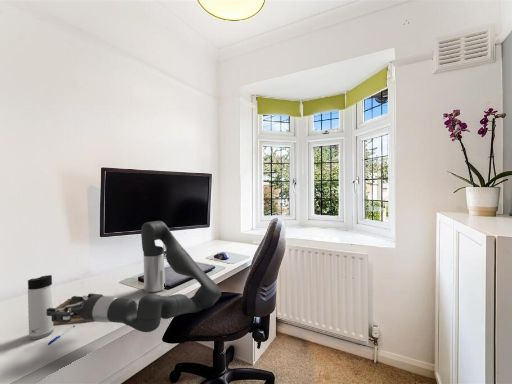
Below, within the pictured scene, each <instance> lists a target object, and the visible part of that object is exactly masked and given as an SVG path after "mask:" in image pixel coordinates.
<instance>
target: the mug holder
mask: <svg viewBox="0 0 512 384" xmlns="http://www.w3.org/2000/svg"><path fill="white" fill-rule="evenodd" d="M73 304H76V303H72V302H71V298H68V299H66V300H65V301H64V302H63V303H60V304H59V305H58V306H56V307H55V308H58V309H60V308H65V307H66V306H67V305H73ZM60 312H65V311H60ZM68 312H70V313H71V308H68ZM86 322H87V323H88V322H91V321H86V320H84V319H83V318H82V317H81V316H76V317H74V316H73V317H72V318H71V321H70V322H53V326H54V325H66V324H68V325H69V324H76V323H77V324H78V323H86Z"/></svg>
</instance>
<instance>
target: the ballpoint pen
mask: <svg viewBox="0 0 512 384" xmlns="http://www.w3.org/2000/svg"><path fill="white" fill-rule="evenodd" d="M75 327H76V325H72V326H70V328H68V329H67V330H65V331H64V332H63V333H61V334H59V335H57V336H55V337H54V338H53V339H51V340H49V342H48V343H47V344H48V345H49V346H50V345H51V344H53V343H54V342H56V341H57V340H58V339H60V338H61V337H63V336H64V335H65V334H66V333H68V332H69V331H71V330H72V329H73V328H75Z"/></svg>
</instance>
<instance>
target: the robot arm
mask: <svg viewBox="0 0 512 384" xmlns="http://www.w3.org/2000/svg"><path fill="white" fill-rule="evenodd" d="M140 231H141V232H140V235H141V247H142V248H141V249H142V251H143V287H144V288H143V291H144V292H145V293H148V294H145V295H143V296H142V297H140V299H139V300H138V304H137V301H136V300H135V299H133V298H127V297H126V298H125V297H117V296H110V295H104V294H101V293H100V294H99V293H91V292H90V293H88V294H87V295H83V296H77V295H74V296H71V298H70V299H71V302H72V303H76V304H73V305H67V306H66V307H65V308H60V309H58V308H56V307H55V308H54V307H53V308H48V309H47V310H46V314H47V316H51V319H52V322H70V321H71V318H72V317H73V316H74V317H76V316H81V317H82V318H83V319H84V320H86V321H90V322H95V323H97V322H98V323H119V324H124V325H126V326H129V327H130V328H133V329H135V330H136V331H139V332H142V333H151V332H153V331H154V332H155V331H156V330H157V329H158V328H159V327H160V324H161V319H163V320H168V319H171V318H175V317H177V316H180V315H184V314H193V313H200V312H201V311H202V310H205V309H209V308H212V307H214V305H215V304H216V303H217V301H219V299H220V297H221V296H222V291H221V289H220V287H219V286H218V284H217V283H216V282H215V281H214V280H213V279H212V278H210V277H209V276H208V275H207V273H205V271H203V269H202V268H200V266H199V265H198V264H197V262H195V260H194V259H193V257H192V256H191V255H190V254H189V253H188V252H187V251H186V249H185V248H184V247H183V246H182V245H181V243H180V242H179V241H178V240H177V239H176V237H175V236H174V234H173V233H172V231H171V230H170V229H169V227H168V226H167V224H166V223H165V222H164V221H162V220H156V221H155V220H154V221H147V222H144V223H143V224H142V225H141V230H140ZM157 240H159V241H161V242H162V244H163V245H164V247H165V248H164V247H163V246H160V245H156V241H157ZM164 249H165V251H164ZM164 254H165V255H164ZM165 260H166V263H168V266H170V268H171V269H172V270H173V271H174V272H175V273H176V274H178V275H181V276H186V277H190V278H193V279H194V280H196V281H197V282H198V283H199V284H200V287H199V288H198V289H197V290H195V293H194V294H193V296H191V297H190V298H189V297H188V296H187V295H185V294H182V293H177V294H172V295H165V296H163V295H160V294H154V293H156V292H157V293H158V292H160V291H164V289H165V287H164V283H165V284H166V267H165ZM68 308H71V313H70V312H68ZM60 311H65V312H60Z"/></svg>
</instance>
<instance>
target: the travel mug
mask: <svg viewBox="0 0 512 384" xmlns="http://www.w3.org/2000/svg"><path fill="white" fill-rule="evenodd" d="M53 300H54V299H53V276H52V275H51V274H49V275H43V276H40V277H35V278H30V279H28V280H27V305H28V306H27V307H28V308H27V311H28V339H29V340H32V341H33V340H34V341H35V340H41V339H42V338H46V337H48V336H50V335H51V334H53V332H54V325H53V322H52V319H51V316H47V314H46V310H47V309H48V308H54V303H53Z"/></svg>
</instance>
